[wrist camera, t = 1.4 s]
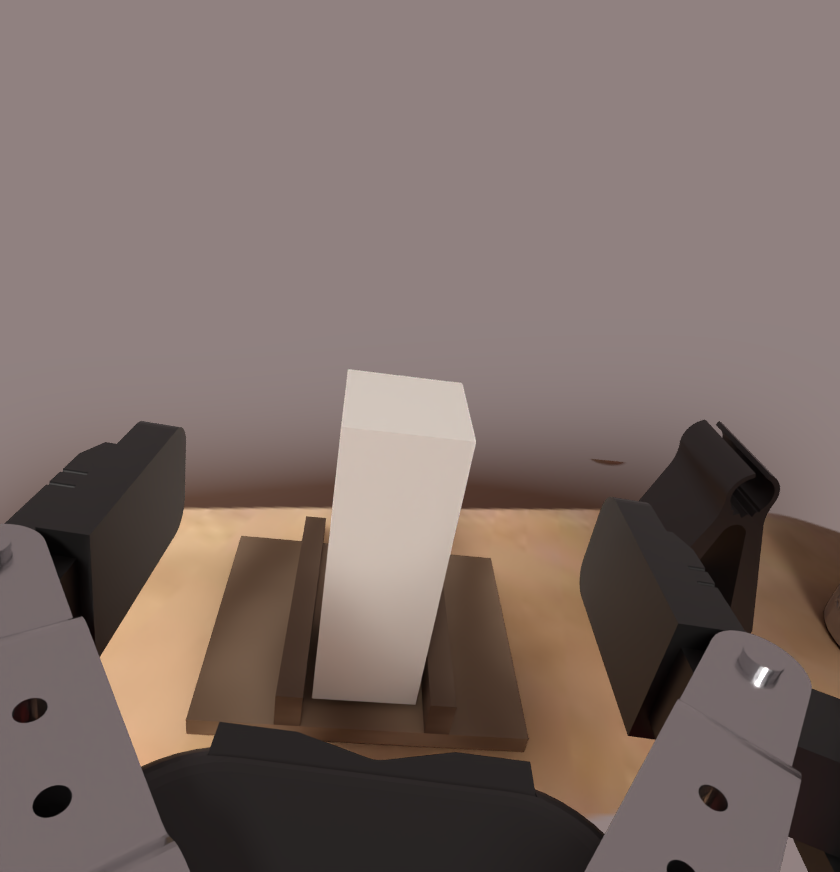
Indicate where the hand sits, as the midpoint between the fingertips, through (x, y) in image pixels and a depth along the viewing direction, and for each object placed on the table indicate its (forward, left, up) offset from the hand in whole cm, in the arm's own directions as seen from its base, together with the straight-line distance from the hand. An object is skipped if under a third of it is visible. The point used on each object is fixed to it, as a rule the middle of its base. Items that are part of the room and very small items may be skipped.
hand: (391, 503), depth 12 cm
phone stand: (-21, -21, -21) cm, 37 cm away
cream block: (-1, -13, -19) cm, 23 cm away
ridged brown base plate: (-1, -16, -21) cm, 26 cm away
